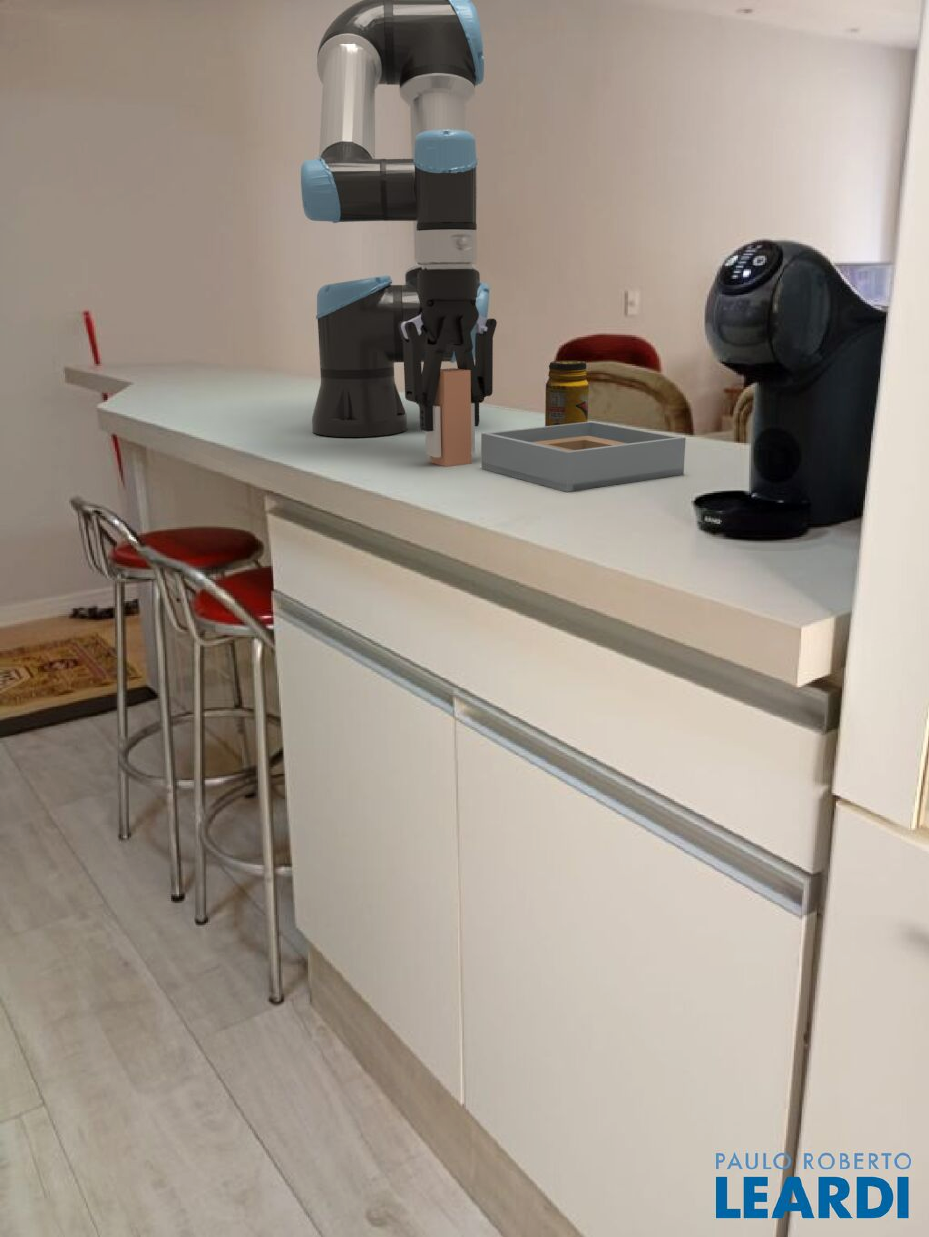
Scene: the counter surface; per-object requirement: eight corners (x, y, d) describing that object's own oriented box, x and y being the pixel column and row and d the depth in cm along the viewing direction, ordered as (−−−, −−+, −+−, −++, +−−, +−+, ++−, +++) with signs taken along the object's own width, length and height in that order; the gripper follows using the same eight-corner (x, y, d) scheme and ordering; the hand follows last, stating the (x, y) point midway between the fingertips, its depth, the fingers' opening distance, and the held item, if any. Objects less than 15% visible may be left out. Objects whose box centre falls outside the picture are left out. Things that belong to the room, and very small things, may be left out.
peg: (430, 462, 134) (427, 369, 130) (455, 458, 136) (454, 368, 132) (445, 466, 131) (443, 372, 127) (471, 463, 133) (470, 370, 129)
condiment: (599, 448, 143) (602, 361, 139) (552, 454, 139) (554, 365, 135) (567, 441, 149) (569, 358, 145) (521, 447, 145) (521, 361, 141)
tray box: (481, 468, 129) (481, 433, 128) (591, 454, 138) (592, 421, 137) (567, 491, 115) (567, 452, 113) (683, 474, 124) (685, 437, 122)
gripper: (399, 267, 118) (406, 465, 126) (522, 266, 127) (521, 450, 135) (370, 268, 124) (378, 456, 132) (489, 267, 133) (490, 443, 141)
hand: (450, 453), depth 133 cm, fingers open, 4 cm apart
